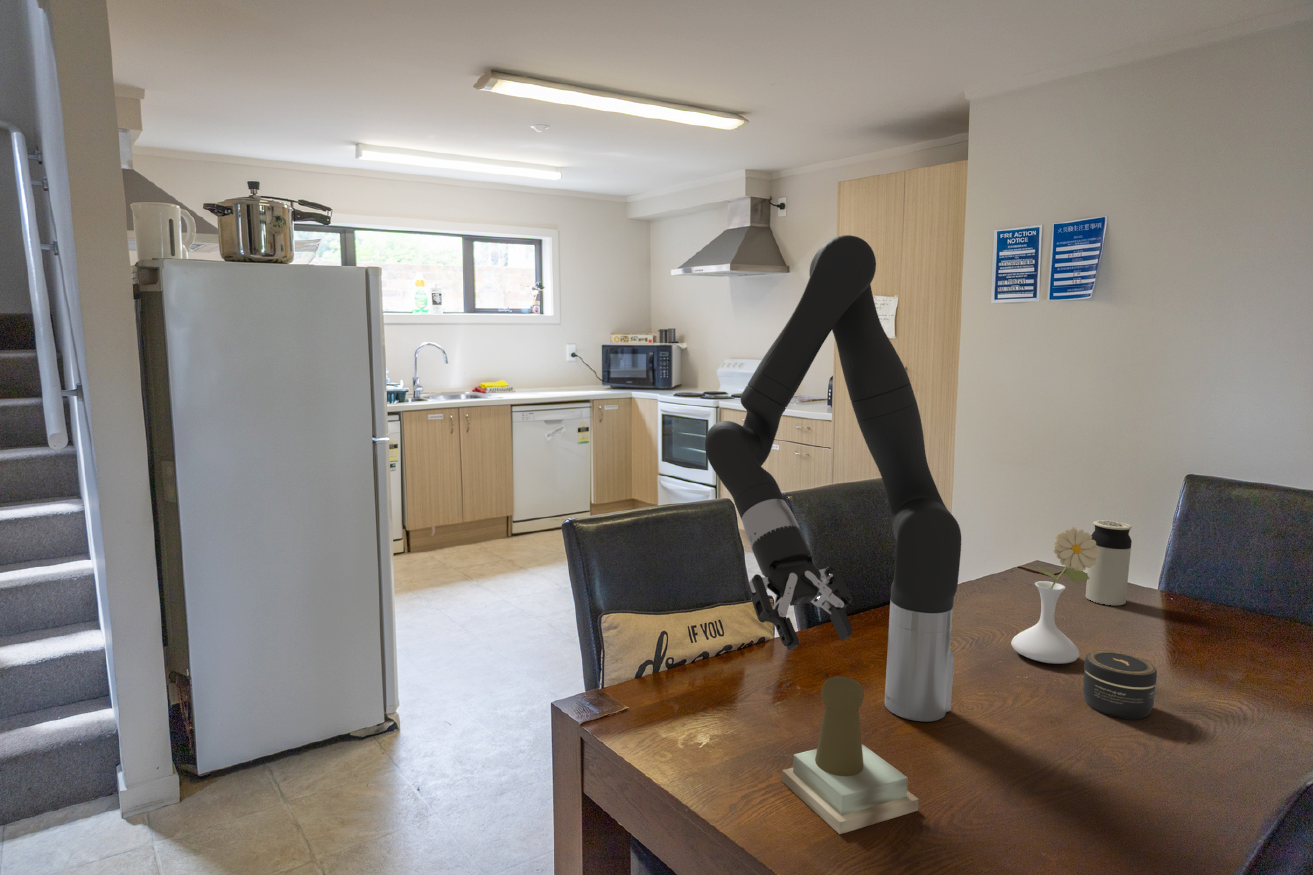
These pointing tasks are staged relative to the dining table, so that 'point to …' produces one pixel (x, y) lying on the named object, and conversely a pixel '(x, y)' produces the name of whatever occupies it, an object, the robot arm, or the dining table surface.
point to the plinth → (852, 817)
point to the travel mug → (1110, 563)
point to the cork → (841, 728)
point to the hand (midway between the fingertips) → (821, 642)
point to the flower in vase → (1045, 636)
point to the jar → (1119, 684)
